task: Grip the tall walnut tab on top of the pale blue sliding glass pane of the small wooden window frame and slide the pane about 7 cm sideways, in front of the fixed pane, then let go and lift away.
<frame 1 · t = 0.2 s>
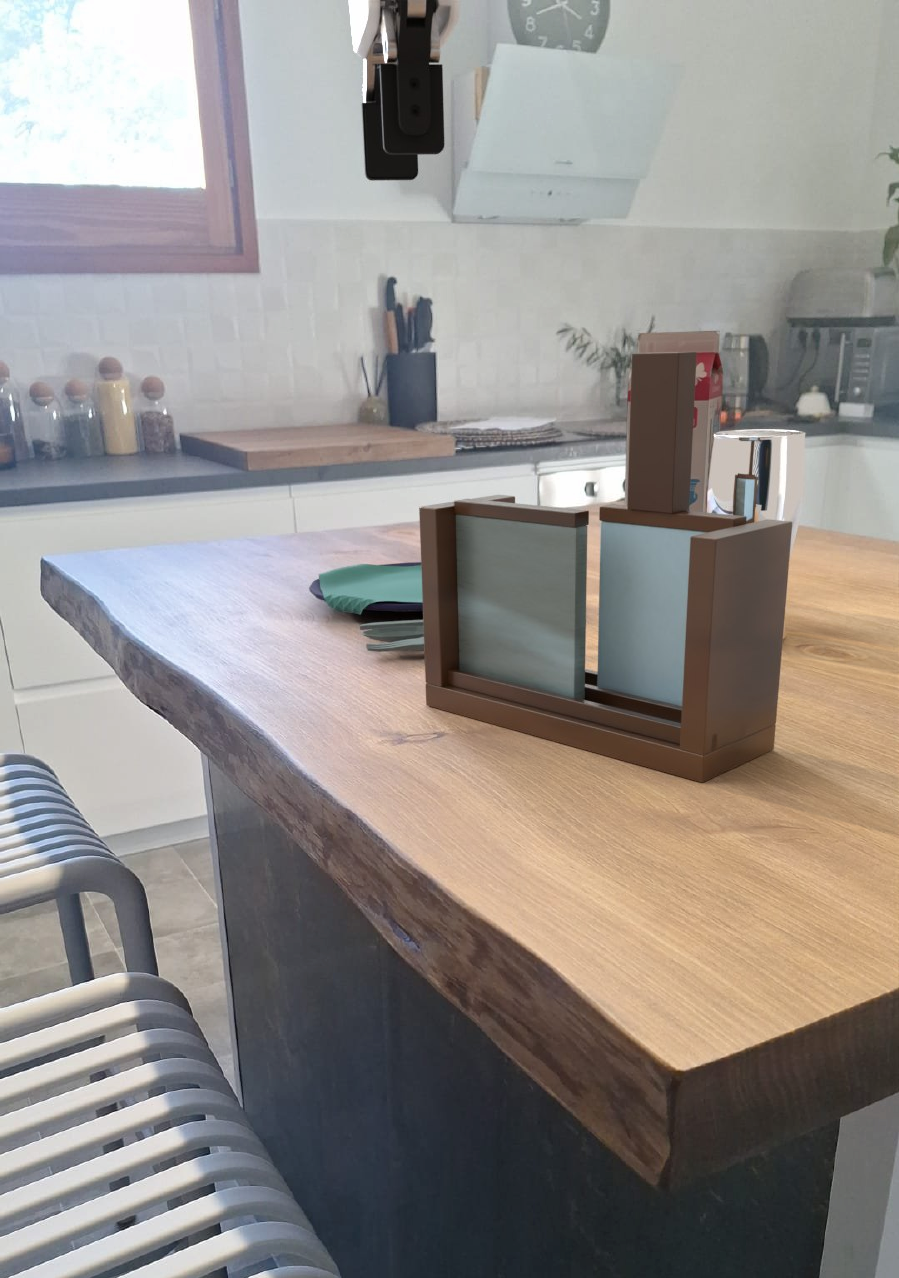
hand: (402, 167, 65), 31 cm above the table, tool pointing down, fingers open, 9 cm apart
beer glass: (744, 639, 88), on the table
juice carton: (666, 600, 102), on the table
sash: (668, 537, 62), point 11 cm above the table, slide at 0.0 cm
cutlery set: (428, 616, 98), on the table
window frame: (587, 726, 68), on the table
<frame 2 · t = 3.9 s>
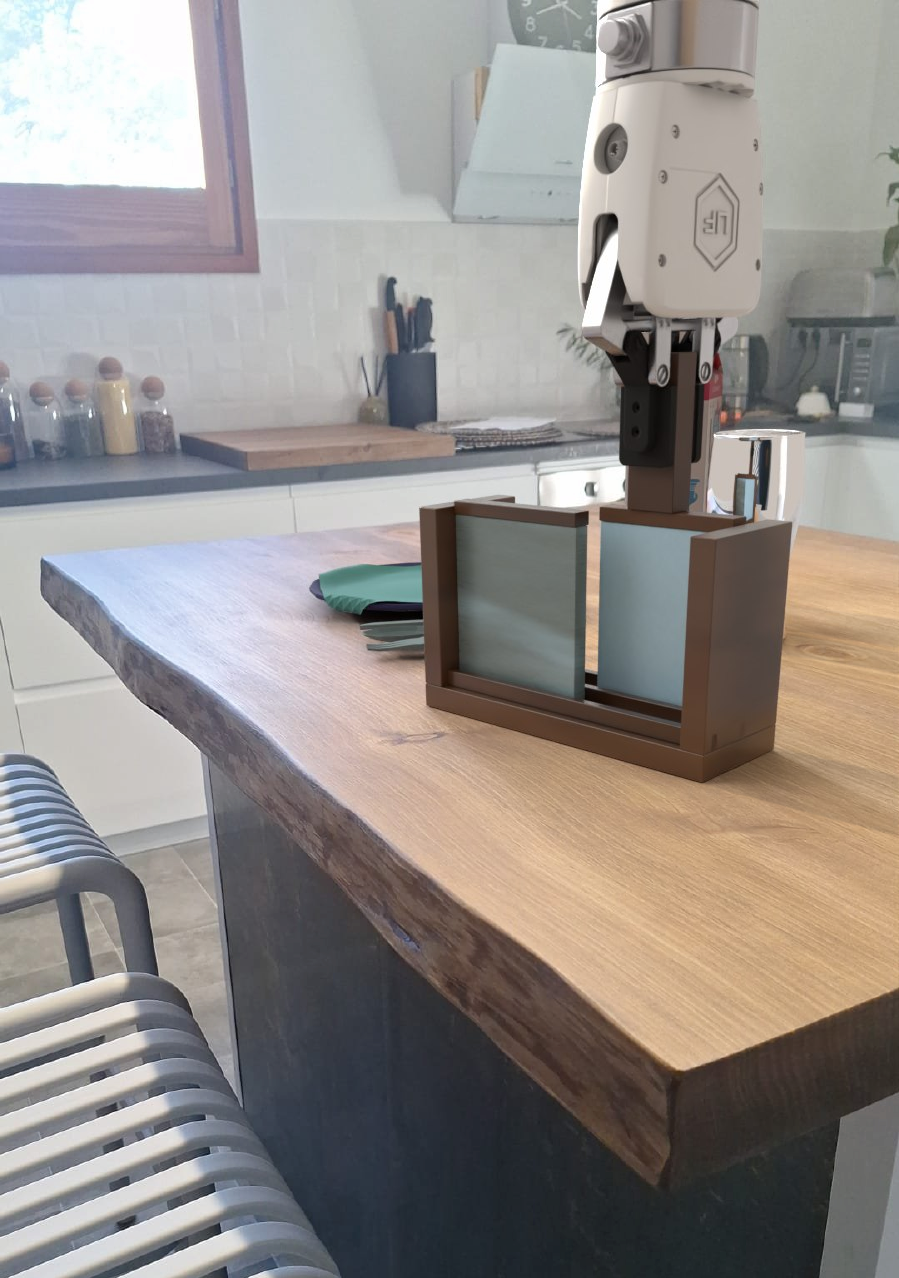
hand: (659, 461, 61), 15 cm above the table, tool pointing down, fingers closed on sash
sash: (668, 537, 62), point 11 cm above the table, slide at 0.0 cm, touching gripper
everything else where it was.
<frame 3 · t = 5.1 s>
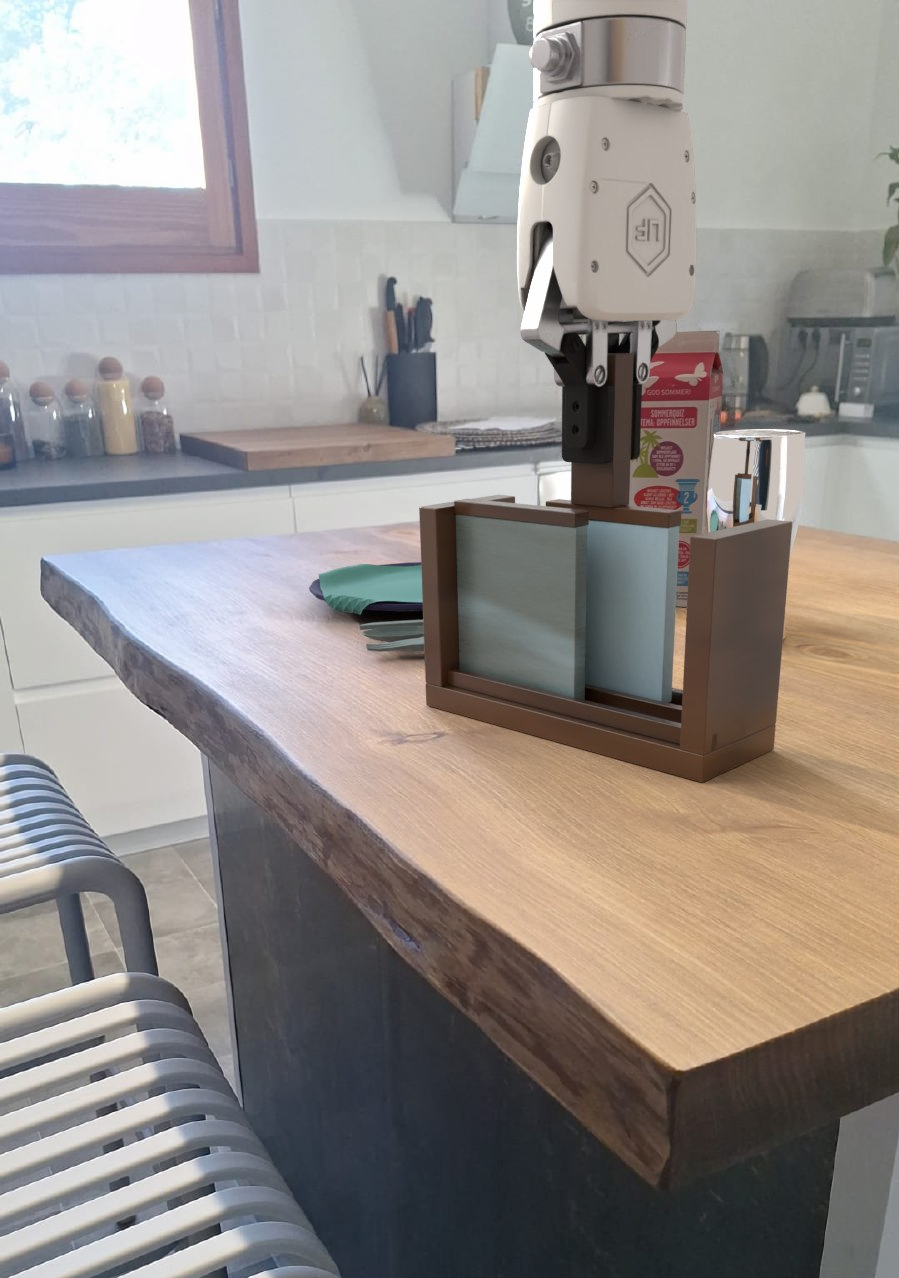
hand: (600, 458, 64), 15 cm above the table, tool pointing down, fingers closed on sash
sash: (610, 530, 65), point 11 cm above the table, slide at 4.1 cm, touching gripper
everything else where it was.
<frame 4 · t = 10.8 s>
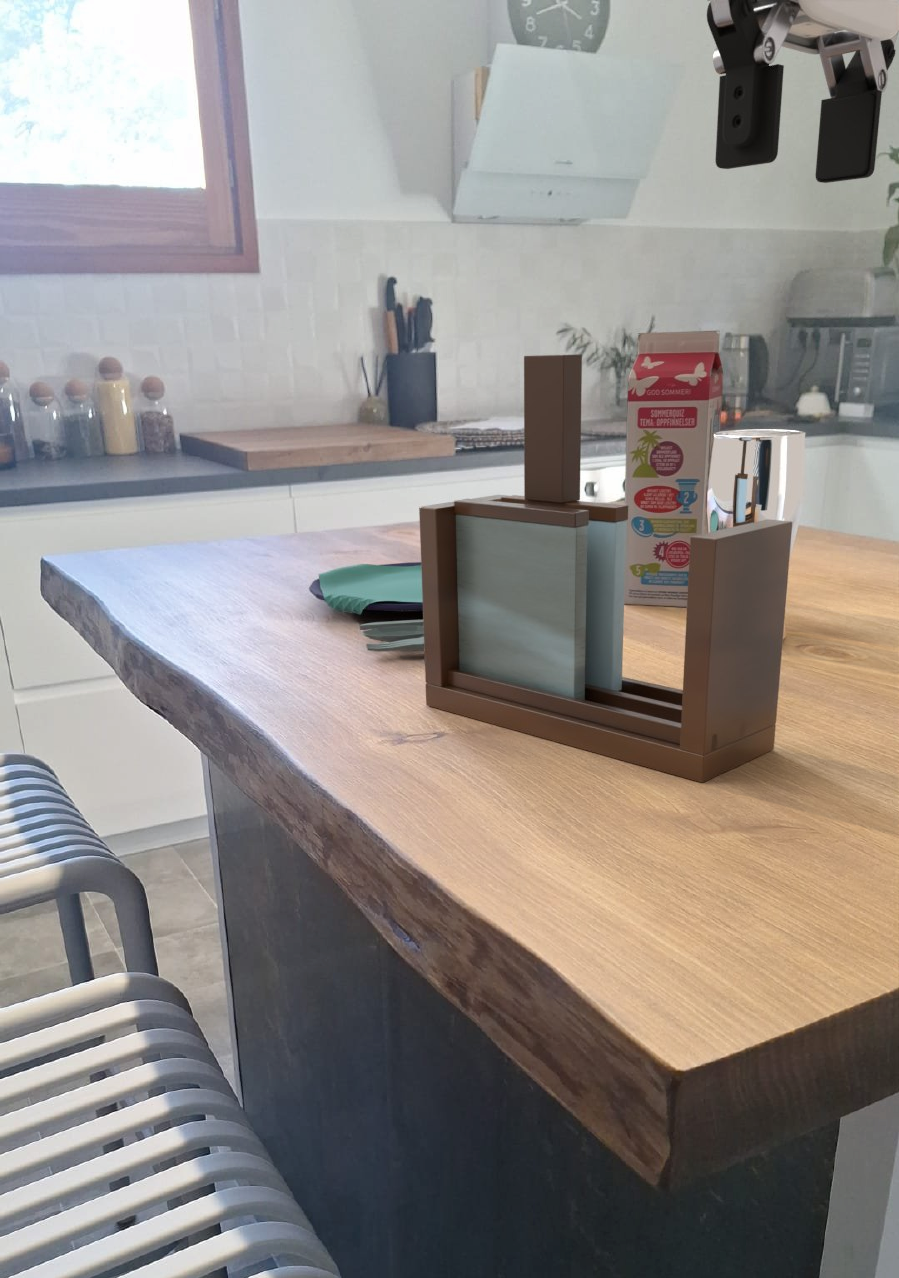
hand: (797, 172, 59), 29 cm above the table, tool pointing down, fingers open, 9 cm apart
sash: (562, 525, 67), point 11 cm above the table, slide at 7.6 cm
everything else where it was.
at the end: sash slide at 7.6 cm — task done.
